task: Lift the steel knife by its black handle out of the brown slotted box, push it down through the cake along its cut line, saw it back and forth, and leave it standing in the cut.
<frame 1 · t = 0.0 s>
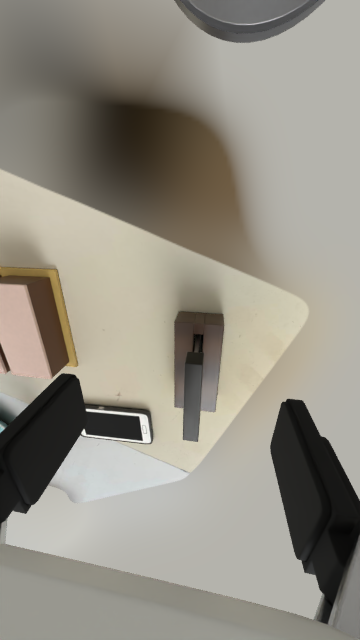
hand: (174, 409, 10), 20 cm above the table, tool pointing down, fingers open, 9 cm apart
cake: (22, 318, 34), on the table
cell phone: (114, 420, 41), on the table
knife: (195, 377, 28), in the brown slotted box
brown slotted box: (198, 356, 32), on the table
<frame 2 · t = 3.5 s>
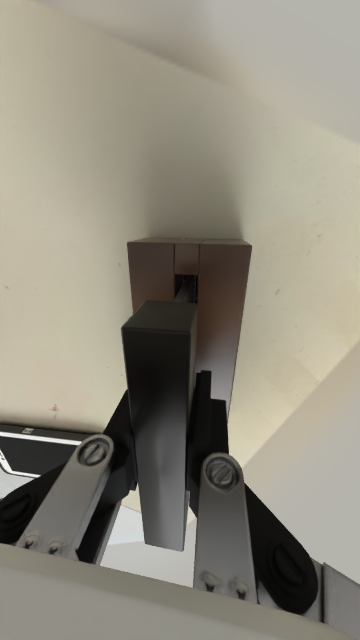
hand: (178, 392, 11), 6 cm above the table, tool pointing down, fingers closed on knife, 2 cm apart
cell phone: (55, 450, 25), on the table
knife: (180, 380, 12), in the brown slotted box, touching gripper
brown slotted box: (190, 338, 16), on the table
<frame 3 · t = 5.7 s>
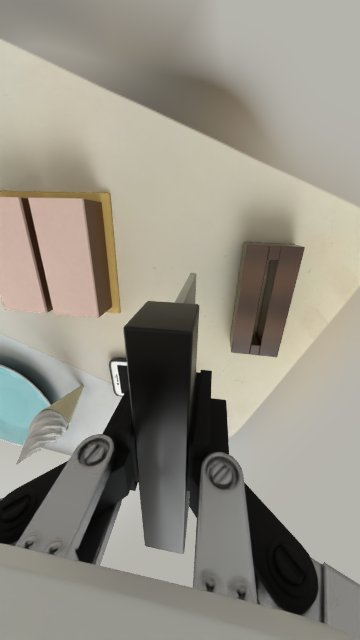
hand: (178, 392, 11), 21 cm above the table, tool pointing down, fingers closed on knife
cake: (63, 256, 32), on the table
plate: (16, 398, 46), on the table
ice cream cone: (82, 385, 42), on the table
cell phone: (153, 378, 38), on the table
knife: (181, 381, 12), point 20 cm above the table, touching gripper
brown slotted box: (258, 297, 30), on the table
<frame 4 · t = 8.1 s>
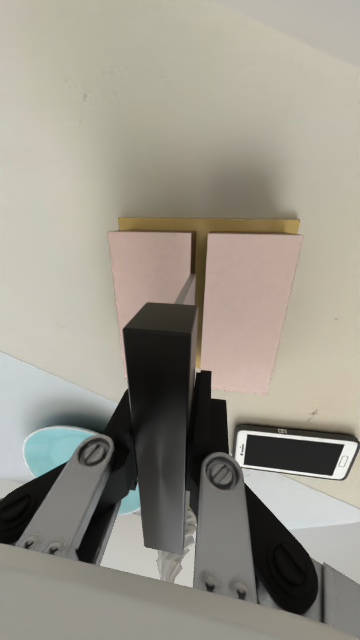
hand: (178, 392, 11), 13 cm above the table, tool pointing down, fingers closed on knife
cake: (199, 302, 23), on the table
plate: (94, 458, 38), on the table
ice cream cone: (186, 449, 33), on the table
cell phone: (289, 447, 30), on the table
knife: (181, 382, 12), point 12 cm above the table, touching gripper
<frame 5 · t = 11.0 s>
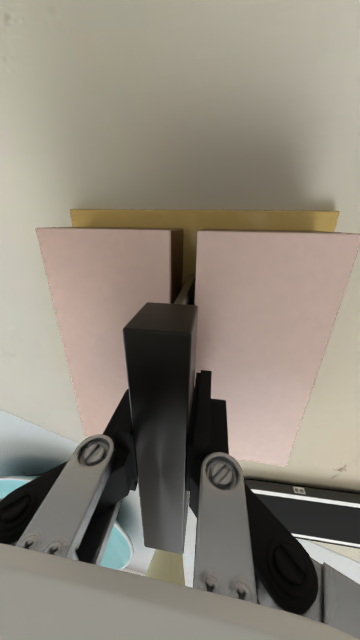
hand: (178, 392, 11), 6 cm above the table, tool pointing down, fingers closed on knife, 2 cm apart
cake: (190, 327, 17), on the table
plate: (65, 506, 31), on the table
ice cream cone: (176, 502, 27), on the table
cell phone: (306, 506, 23), on the table
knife: (181, 382, 12), point 6 cm above the table, touching gripper
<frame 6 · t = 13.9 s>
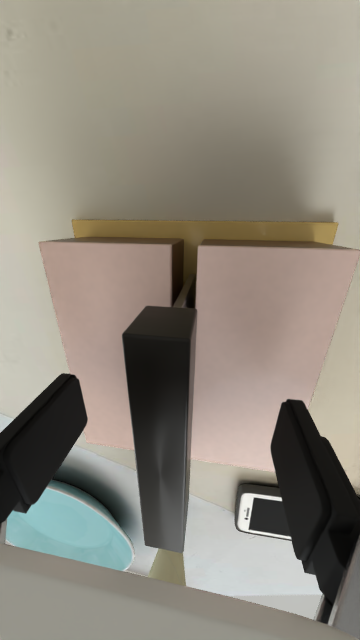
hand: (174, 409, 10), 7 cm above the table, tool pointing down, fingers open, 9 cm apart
cake: (190, 335, 17), on the table
plate: (67, 508, 31), on the table
ice cream cone: (177, 505, 27), on the table
cell phone: (306, 510, 23), on the table
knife: (180, 383, 12), resting on cake
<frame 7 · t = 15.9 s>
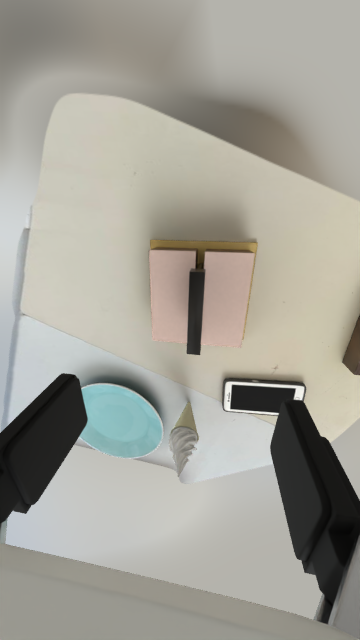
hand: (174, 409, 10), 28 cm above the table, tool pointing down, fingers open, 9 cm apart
cake: (199, 292, 36), on the table
plate: (119, 414, 50), on the table
ice cream cone: (189, 402, 46), on the table
cell phone: (261, 395, 43), on the table
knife: (197, 303, 31), resting on cake
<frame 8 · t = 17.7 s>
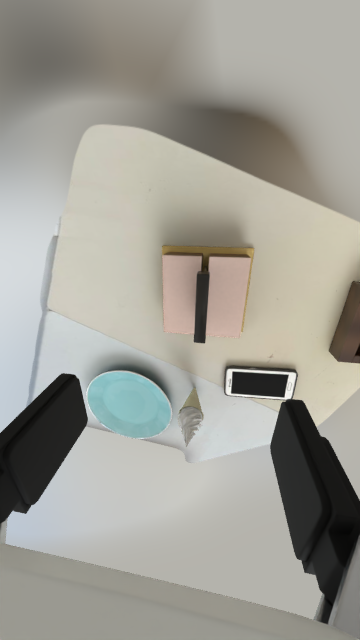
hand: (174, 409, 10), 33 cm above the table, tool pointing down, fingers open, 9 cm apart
cake: (204, 290, 42), on the table
plate: (132, 399, 56), on the table
ice cream cone: (194, 387, 52), on the table
cell phone: (258, 381, 48), on the table
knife: (202, 300, 37), resting on cake
brown slotted box: (357, 320, 40), on the table
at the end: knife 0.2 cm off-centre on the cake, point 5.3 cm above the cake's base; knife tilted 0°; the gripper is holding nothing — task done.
